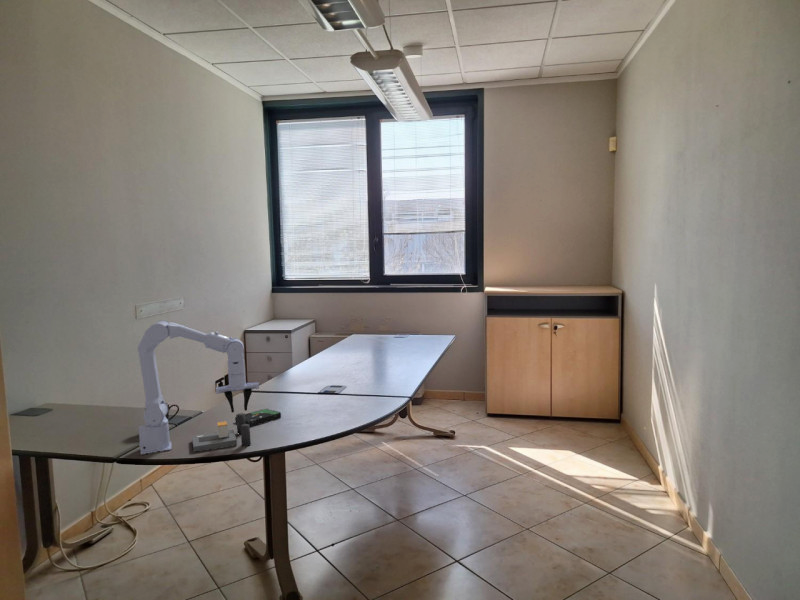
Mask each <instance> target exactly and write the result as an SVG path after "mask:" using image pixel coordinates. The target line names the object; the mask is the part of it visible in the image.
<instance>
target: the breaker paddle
mask: <svg viewBox="0 0 800 600" xmlns="http://www.w3.org/2000/svg"><path fill="white" fill-rule="evenodd" d="M216 423H217V432H218V436H219V438H223V437H228V423H227V421H217V422H216Z"/></svg>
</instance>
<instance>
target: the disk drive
mask: <svg viewBox="0 0 800 600" xmlns="http://www.w3.org/2000/svg"><path fill="white" fill-rule="evenodd" d="M244 414H245V424H249V425H250V426H252V427H255V426H258V425H261V423H262V424H264V422H265V423H268V422H272V421H275V420H278V418H279V419H281V418H282V412H280V411H276V410H272V409H268V408H264V409H259V410H255V411H252V412H248V413H244ZM234 419H235V421H236V422H237V419H236V416H235V418H234ZM271 420H272V421H271ZM235 421H234V422H235ZM267 421H268V422H267ZM236 422H235V423H236Z"/></svg>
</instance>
